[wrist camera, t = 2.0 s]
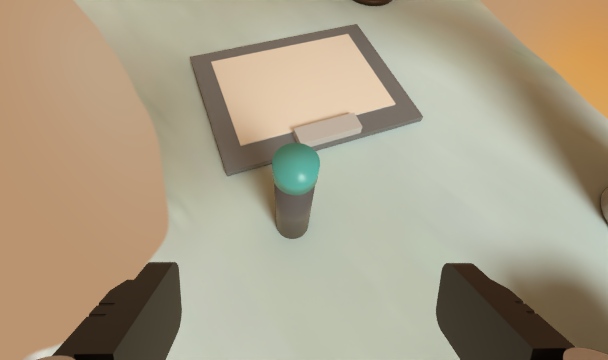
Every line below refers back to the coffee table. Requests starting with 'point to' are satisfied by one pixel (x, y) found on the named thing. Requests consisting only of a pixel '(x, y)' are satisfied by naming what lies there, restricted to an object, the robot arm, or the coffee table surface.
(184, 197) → the coffee table surface
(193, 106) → the coffee table surface
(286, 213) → the marker
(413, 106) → the clipboard
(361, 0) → the candlestick
